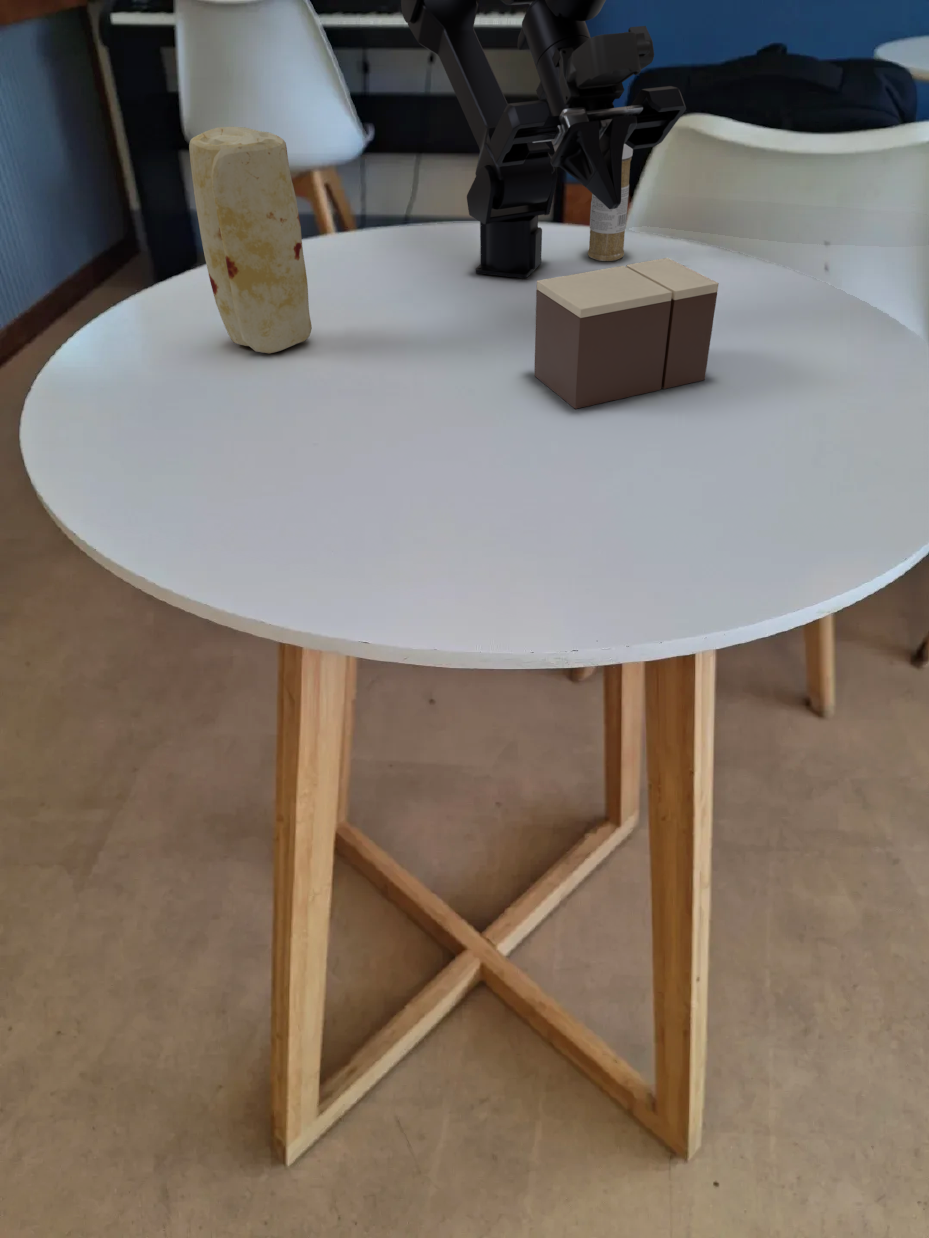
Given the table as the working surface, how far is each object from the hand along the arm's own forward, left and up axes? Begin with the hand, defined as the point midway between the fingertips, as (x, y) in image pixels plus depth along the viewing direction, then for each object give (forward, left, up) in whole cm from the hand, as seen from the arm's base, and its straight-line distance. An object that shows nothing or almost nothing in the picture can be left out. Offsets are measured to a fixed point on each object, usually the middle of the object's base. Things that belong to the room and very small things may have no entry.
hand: (615, 206), depth 89 cm
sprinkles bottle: (-6, +24, -13) cm, 28 cm away
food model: (-32, -14, -13) cm, 37 cm away
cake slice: (+7, -7, -12) cm, 16 cm away
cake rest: (+2, -12, -12) cm, 18 cm away
